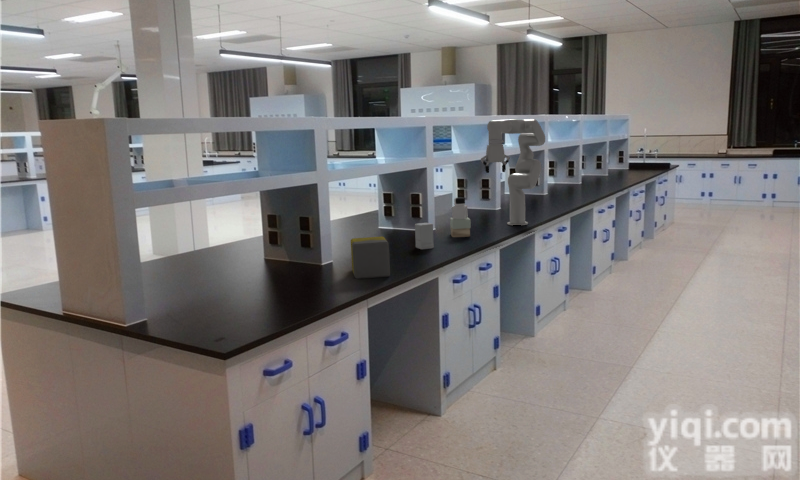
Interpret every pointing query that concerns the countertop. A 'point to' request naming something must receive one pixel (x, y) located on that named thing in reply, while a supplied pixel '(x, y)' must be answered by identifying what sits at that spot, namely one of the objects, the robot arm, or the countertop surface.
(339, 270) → the countertop surface
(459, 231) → the tower base block
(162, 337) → the countertop surface
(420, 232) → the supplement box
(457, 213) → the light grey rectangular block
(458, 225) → the tower top block
